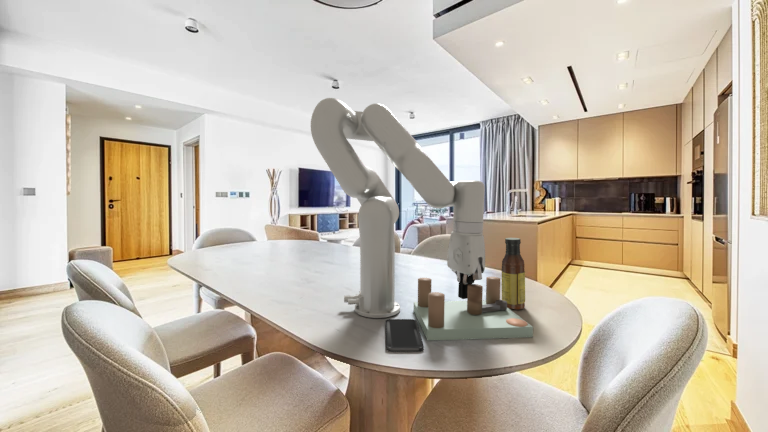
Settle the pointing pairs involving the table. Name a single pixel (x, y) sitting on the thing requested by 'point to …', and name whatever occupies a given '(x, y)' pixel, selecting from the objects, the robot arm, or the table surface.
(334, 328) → the table surface
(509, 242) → the sauce bottle
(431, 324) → the stool seat
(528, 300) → the table surface
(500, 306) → the folding leg
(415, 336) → the phone
